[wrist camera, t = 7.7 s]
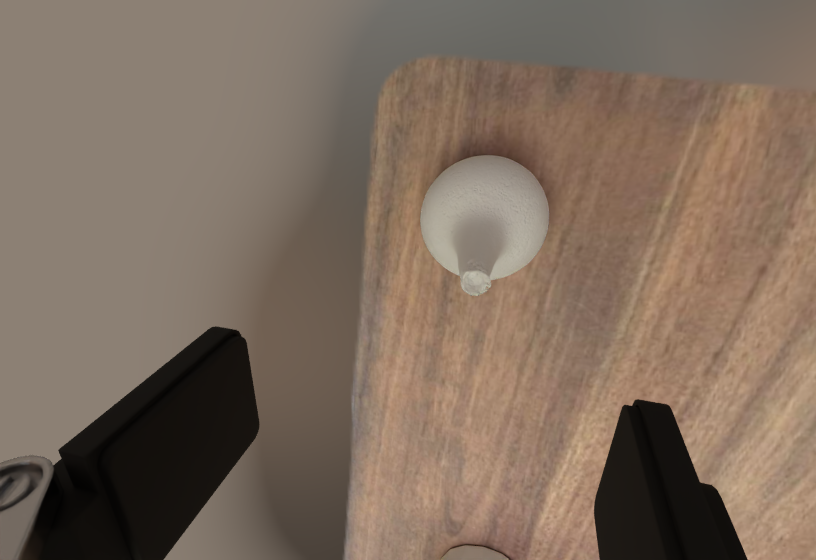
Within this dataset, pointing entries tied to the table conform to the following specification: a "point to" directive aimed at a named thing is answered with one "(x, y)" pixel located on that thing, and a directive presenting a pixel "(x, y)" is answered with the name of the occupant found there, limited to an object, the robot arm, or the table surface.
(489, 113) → the table surface
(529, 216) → the garlic bulb
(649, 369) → the table surface
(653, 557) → the robot arm
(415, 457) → the table surface
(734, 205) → the table surface
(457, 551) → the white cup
